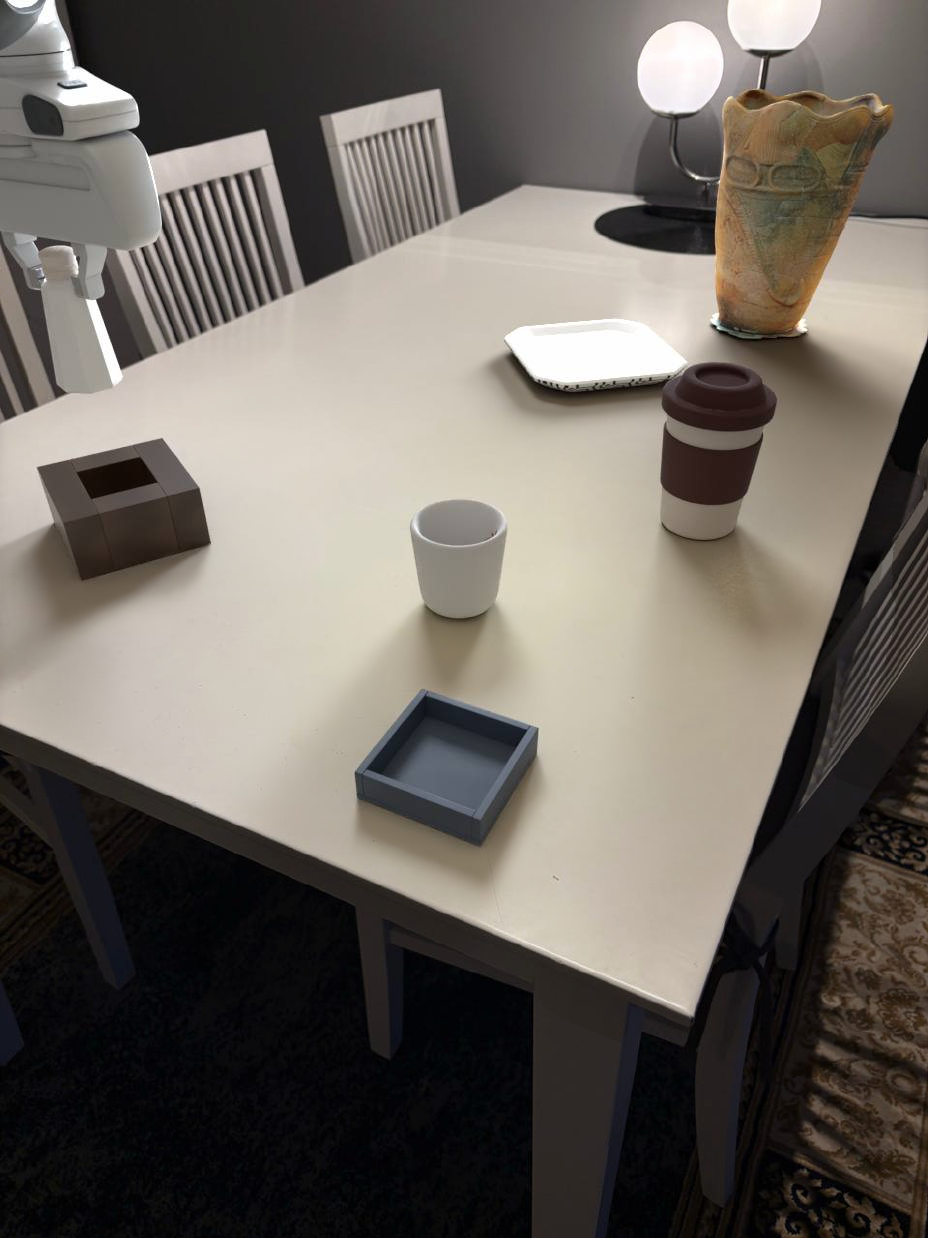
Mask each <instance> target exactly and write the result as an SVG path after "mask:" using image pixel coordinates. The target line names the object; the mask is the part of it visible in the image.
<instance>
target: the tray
mask: <svg viewBox="0 0 928 1238" xmlns="http://www.w3.org/2000/svg"><path fill="white" fill-rule="evenodd" d="M539 730H540V729H539V727H537V726H535V725H532V724H529V723H526V722H523V721H519V720H517V719H514V718H510V717H508V716H505V715H502V714H499V713H496V712H493V711H490V710H487V709H484V708H481V707H478V706H475V705H472V704H470V703H467V702H464V701H460V700H458V699H454V698H452V697H449V696H445V695H442V694H440V693H436V692H434V691H431V690H428V689H426V688H421V689H420V690H419V691H418V692H417V694H416V695H415V696H414V697H413V699H412V700H411V701H410V703H408V705H407V706H406V707H405V709H404V710H403V711H402V712H401V714H400V715H399V716H398V717H397V718H396V720H395V721H394V722H393V723H392V724H391V726H390V727H389V728H388V730H387V731H386V732H385V734H383V736H382V737H381V738H380V740H379V741H378V742H377V743H376V744H375V746H373V748H372V750H370V752H369V753H368V754H367V756H365V758H364V759H363V760H362V762H361V763H360V764H359V765H358V767H357V768H356V769H354V782H355V789H356V798H357V799H359V800H363V801H365V802H367V803H370V804H372V805H375V806H378V807H380V808H382V809H385V810H388V811H390V812H392V813H395V814H397V815H400V816H403V817H405V818H407V819H410V820H412V821H415V822H418V823H420V824H423V825H425V826H427V827H430V828H433V829H435V830H438V831H440V832H443V833H445V834H448V835H450V836H452V837H456V838H458V839H461V840H462V841H466V842H468V843H471V844H473V845H476V846H479V847H481V846H482V844H483V843H484V841H485V839H486V838H487V837H488V835H489V833H490V831H491V830H492V829H493V827H494V825H495V823H496V821H497V820H498V818H499V817H500V815H501V813H502V812H503V810H504V809H505V807H506V805H507V804H508V802H509V801H510V798H511V797H512V795H513V794H514V792H515V790H516V789H517V787H518V785H519V784H520V782H521V780H522V779H523V778H524V775H525V774H526V772H527V770H528V769H529V767H530V766H531V764H532V762H533V761H534V759H535V757H536V756H537V755H538V743H539Z"/></svg>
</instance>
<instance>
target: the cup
mask: <svg viewBox="0 0 928 1238" xmlns="http://www.w3.org/2000/svg"><path fill="white" fill-rule="evenodd" d="M508 527H509V525H508V520H507V517H506V516H505V514H504V513H503V512H502V511H501V510H500V509H498V508H497V507H496V506H494V505H492V504H490V503H487V502H484V501H481V500H477V499H472V498H471V499H470V498H449V499H447V498H446V499H443V500H437V501H434V502H431V503H428V504H426V505H425V506H423V507H421V508H420V509H418V511H416V512H415V513H414V514H413V516H412V517H411V520H410V522H409V532H410V538H411V539H410V540H411V544H412V551H413V558H414V563H415V570H416V575H417V582H418V586H419V592H420V595H421V599H422V600H423V602H424V604H425V605H426V607H428V609H430V610H431V611H432V612H434V613H436V614H437V615H439V616H442V617H445V618H450V619H467V618H472V617H477V616H479V615H482V614H483V613H485V612H487V611H488V610H489V609H490V608H491V607H492V606H493V604H494V603H495V601H496V599H497V596H498V593H499V590H500V584H501V577H502V571H503V570H502V569H503V564H504V563H503V562H504V558H505V550H506V543H507V542H506V541H507V535H508Z"/></svg>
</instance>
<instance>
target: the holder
mask: <svg viewBox="0 0 928 1238" xmlns="http://www.w3.org/2000/svg"><path fill="white" fill-rule="evenodd" d="M36 469H37V473H38V476H39V479H40V482H41V485H42V488H43V491H44V495H45V499H46V501H47V505H48V507H49V510H50V511H49V512H50V513H51V517H52V520H53V523H54V524H55V527H56V529H57V532H58V533H59V535H60V537H61V541H62V542H63V544H64V546H65V549H66V551H67V554H68V555H69V557H70V559H71V562H72V564H73V566H74V569H75V571H76V573H77V575H78V577H79V579H80V581H85V580H88V579H92V578H94V577H98V576H102V575H105V574H109V573H112V572H115V571H119V570H123V569H126V568H130V567H134V566H137V565H139V564H140V565H141V564H144V563H148V562H151V561H153V560H157V559H162V558H164V557H165V558H166V557H168V556H171V555H175V554H178V553H182V552H185V551H189V550H193V549H196V548H200V547H204V546H206V545H210V544H211V543H212V541H211V536H210V531H209V527H208V522H207V517H206V513H205V511H206V510H205V506H204V502H203V496H202V492H201V488H200V486H199V485H198V484H197V482H196V481H195V479H194V478H193V477H192V475H191V474H190V473H189V472H188V470H187V469H186V467H185V466H184V465H183V463H182V462H181V461H180V460H179V458H178V457H177V455H176V454H175V453H174V451H173V450H172V449H171V448H170V446H169V445H168V444H167V442H166V441H165V440H164V438H163V437H161V438H156V439H155V438H154V439H151V440H147V441H144V442H139V443H134V444H130V445H126V446H122V447H117V448H113V449H109V450H104V451H99V452H96V453H92V454H87V455H83V456H79V457H74V458H71V459H70V458H69V459H65V460H62V461H57V462H52V463H48V464H45V465H44V464H43V465H40V466H36Z"/></svg>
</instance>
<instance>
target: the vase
mask: <svg viewBox="0 0 928 1238" xmlns="http://www.w3.org/2000/svg"><path fill="white" fill-rule="evenodd" d="M721 115H722V121H721V122H722V127H723V154H722V156H723V157H722V163H721V164H722V165H721V171H720V177H719V183H718V188H717V189H718V190H717V198H716V199H717V200H716V210H715V211H716V212H715V225H714V226H715V227H714V245H715V265H714V266H715V269H714V270H715V271H714V277H715V279H714V281H715V282H714V283H715V285H714V286H715V297H716V298H715V299H716V304H717V310H718V312H716V313H714V314H712V316H711V317H712V318H710V319H709V321H710V322H711V323H712V324H713V325H715V326H716V329H717V330H719V331H724V332H727V333H728V334H729V335H732V336H735V337H737V338H741V339H762V338H771V339H777V337H787V338H788V337H790V338H791V337H797V336H801V335H802V334H804V333H805V332H807V331H808V329H807V328H806V327H807V326H808V327H809V324H808V323H805V321H806V319H805V318H803V316H804V315H805V314H806V311H807V310H808V307H809V305H810V303H811V301H812V299H813V296H814V295H815V293H816V290H817V289H818V286H819V284H820V282H821V280H822V277H823V275H824V272H825V271H826V268H827V266H828V264H829V263H830V261H831V259H832V256H833V254H834V253H835V250H836V248H837V246H838V243H839V241H840V238H841V235H842V232H843V231H844V229H845V227H846V224H847V221H848V220H849V217H850V214H851V212H852V209H853V207H854V204H855V202H856V200H857V197H858V195H859V193H860V189H861V186H862V183H863V179H864V176H865V174H866V171H867V169H868V167H869V165H870V163H871V161H872V157H873V156H874V152H875V149H876V147H877V145H878V144H879V143H880V141H881V140H882V139H883V137H885V136H886V134H887V133H888V132H889V130H890V129H891V127H892V123H893V121H894V116H895V111H894V105H893V103H892V104H891V103H890V104H886V105H883V102H882V101H881V98H880V97H879V96H878V95H877V94H875V93H867V94H862V95H855V96H852V97H850V98H845V99H841V100H834V99H831V98H830V97H828V96H827V95H826V94H823V93H820V92H817V91H814V90H803V91H799V92H794V93H790V94H786V95H772V94H771V93H770V92H768V91H766V90H765V89H761V88H753V89H746V90H744V91H742V92H740V93H739V95H738V96H737V97H735V96H733V95H732V96H728V97H727V99H726V100H725V102H724V103H723V106H722V114H721Z"/></svg>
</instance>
